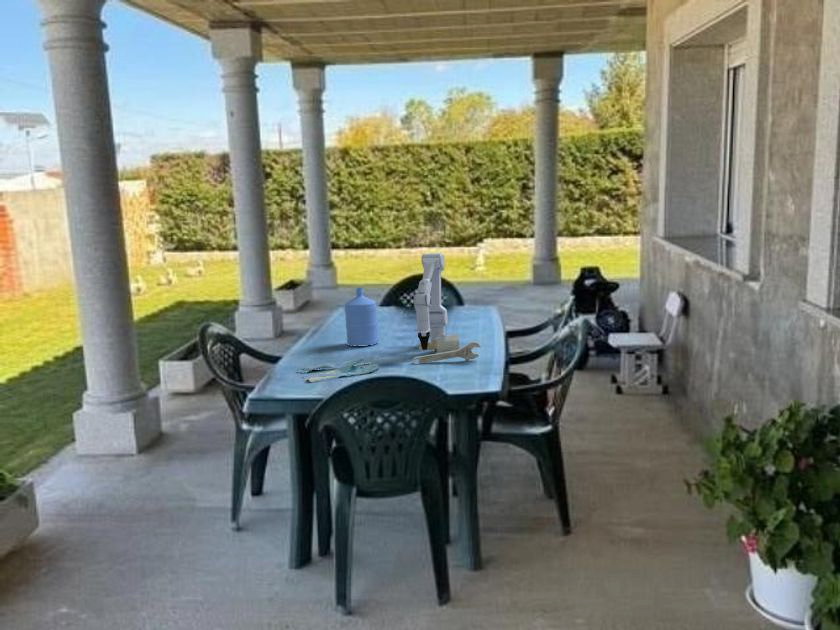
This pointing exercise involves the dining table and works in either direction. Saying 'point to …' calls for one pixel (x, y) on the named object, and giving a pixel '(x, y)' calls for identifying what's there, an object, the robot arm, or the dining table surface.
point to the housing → (447, 343)
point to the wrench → (451, 354)
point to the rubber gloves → (344, 368)
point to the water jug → (361, 320)
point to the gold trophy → (430, 346)
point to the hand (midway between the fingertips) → (424, 348)
